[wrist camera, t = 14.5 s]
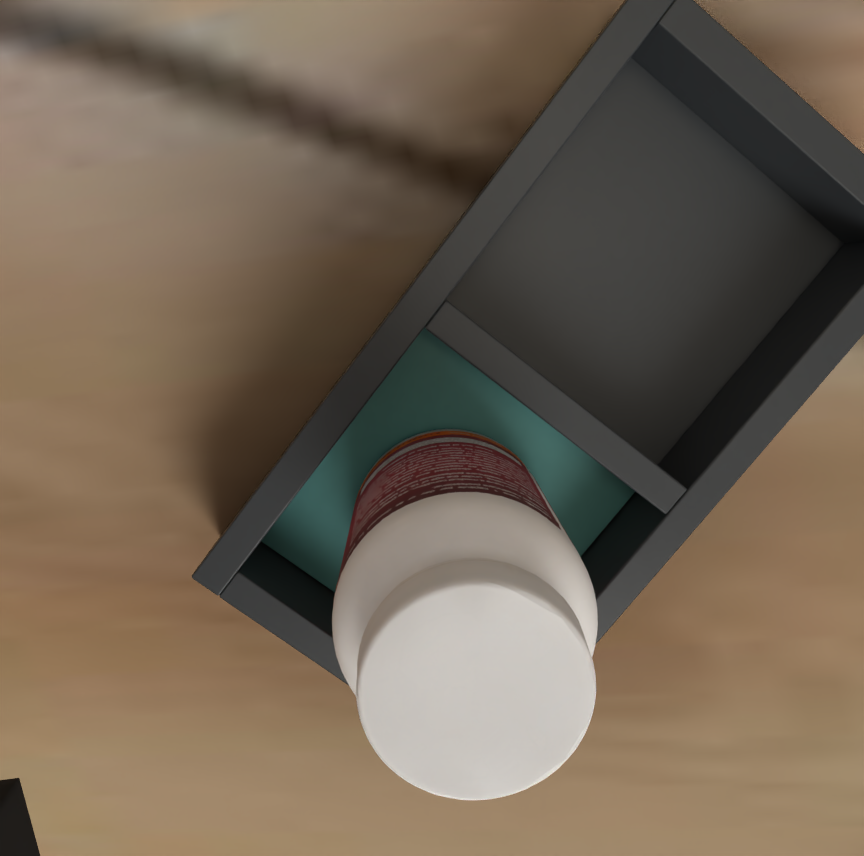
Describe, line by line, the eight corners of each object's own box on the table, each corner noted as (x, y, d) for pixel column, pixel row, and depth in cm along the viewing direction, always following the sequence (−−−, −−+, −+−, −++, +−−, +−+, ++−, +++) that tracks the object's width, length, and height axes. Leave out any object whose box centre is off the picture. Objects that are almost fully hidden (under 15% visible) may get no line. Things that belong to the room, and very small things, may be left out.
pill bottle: (314, 507, 26) (244, 677, 15) (459, 385, 25) (497, 471, 14) (437, 640, 27) (454, 891, 16) (579, 527, 26) (699, 708, 15)
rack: (219, 537, 27) (190, 577, 23) (617, 9, 24) (654, -37, 20) (473, 714, 28) (482, 777, 25) (876, 238, 25) (952, 232, 22)
